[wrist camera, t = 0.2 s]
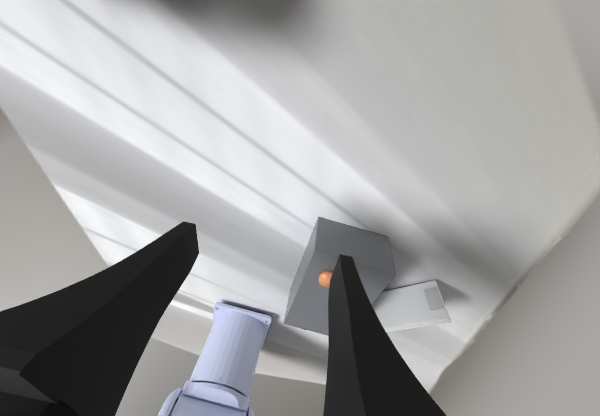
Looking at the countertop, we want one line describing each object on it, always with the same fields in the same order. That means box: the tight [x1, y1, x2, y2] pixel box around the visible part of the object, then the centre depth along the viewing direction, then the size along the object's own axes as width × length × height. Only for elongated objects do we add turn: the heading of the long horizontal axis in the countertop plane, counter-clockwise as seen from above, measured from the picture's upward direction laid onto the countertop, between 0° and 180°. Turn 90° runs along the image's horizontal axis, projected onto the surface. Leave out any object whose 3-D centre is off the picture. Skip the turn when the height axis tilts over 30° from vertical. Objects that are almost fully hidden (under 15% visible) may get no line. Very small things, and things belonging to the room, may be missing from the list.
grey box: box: [284, 217, 396, 336], centre depth 26 cm, size 13×7×5 cm, turn 166°
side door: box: [372, 280, 451, 332], centre depth 27 cm, size 10×1×4 cm, turn 121°
